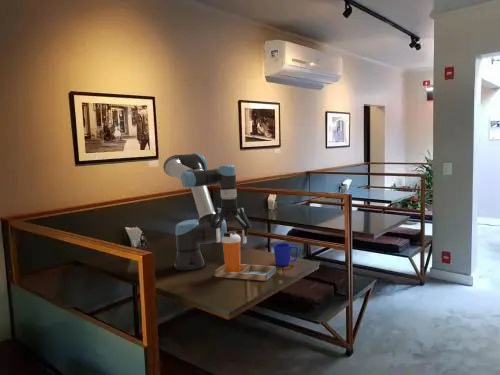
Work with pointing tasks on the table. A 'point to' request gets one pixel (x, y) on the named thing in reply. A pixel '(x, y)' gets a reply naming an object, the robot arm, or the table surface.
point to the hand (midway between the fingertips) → (231, 242)
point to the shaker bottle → (231, 251)
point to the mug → (283, 254)
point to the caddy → (257, 274)
